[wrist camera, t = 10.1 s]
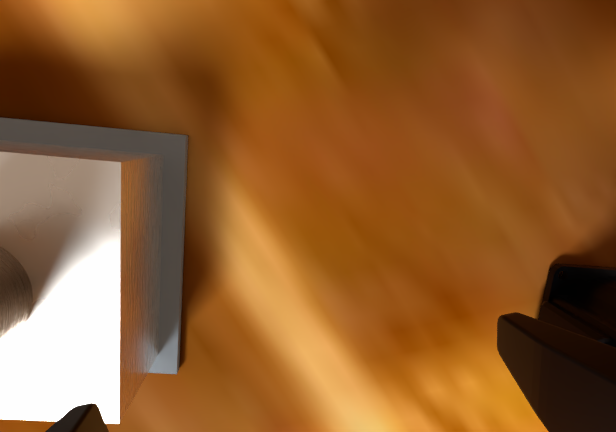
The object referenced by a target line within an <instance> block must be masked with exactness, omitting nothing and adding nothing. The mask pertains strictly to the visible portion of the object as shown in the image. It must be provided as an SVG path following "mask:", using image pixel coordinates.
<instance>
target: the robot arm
mask: <svg viewBox="0 0 616 432" xmlns="http://www.w3.org/2000/svg"><path fill="white" fill-rule="evenodd" d="M561 271H563V274H562V276H560V277H558V275H559V273H560V272H561ZM497 348H498V352H499V354H500V356H501V358H502V360H503V361H504V363H505V365H506V366H507V368H508V369H509V371H510V373H511V374H512V376H513V378H514V379H515V381H516V382H517V384H518V386H519V387H520V389H521V391H522V392H523V394H524V396H525V397H526V399H527V400H528V402H529V404H530V405H531V407H532V408H533V410H534V412H535V413H536V415H537V416H538V418H539V419H540V420H541V422H542V423H543V424H544V426H545V427H546V428H547V430H548V431H549V432H616V268H609V267H596V266H582V265H569V264H556V265H554V266H553V267H552V268H551V269H550V271H549V274H548V279H547V283H546V288H545V293H544V297H543V302H542V305H541V308H540V313H539V318H538V320H537V319H534V318H532V317H529V316H526V315H523V314H520V313H516V312H515V313H510V314H505V315H501V316H500V317H499V318H498V322H497ZM46 432H108V429H107V426H106V424H105V421H104V419H103V416H102V414H101V412H100V409H99V407H98V405H97V404H96V403H87V404H82V405H78V406H75V407H73V408H72V409H70V410H69V411H68V412H67V413H66V414H65V415H64V416H63V417H61V418H60V419H59V420H58V421H57V422H56V423H55V424H54V425H52V426H51V427H50V428H49V429H48V430H47V431H46Z"/></svg>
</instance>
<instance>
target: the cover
mask: <svg viewBox="0 0 616 432" xmlns="http://www.w3.org/2000/svg"><path fill="white" fill-rule="evenodd" d="M163 158H164V155H159V154H148V153H137V152H126V151H115V150H104V149H93V148H82V147H71V146H60V145H49V144H38V143H27V142H16V141H4V140H0V419H16V420H41V421H58V420H59V419H60V418H61V417H63V416H64V415H65V414H66V413H67V412H68V411H69V410H70V409H72V408H73V407H75V406H78V405H82V404H87V403H96V404H97V405H98V407H99V409H100V412H101V414H102V416H103V419H104V421H105V423H115V424H119V423H120V421H121V420H122V418H123V416H124V414H125V412H126V411H127V409H128V407H129V405H130V404H131V402H132V400H133V398H134V397H135V395H136V393H137V391H138V390H139V388H140V386H141V384H142V382H143V381H144V379H145V377H146V375H147V374H148V372H149V370H150V368H151V367H152V365H153V363H154V361H155V359H156V358H157V356H158V344H159V307H160V269H161V232H162V195H163Z"/></svg>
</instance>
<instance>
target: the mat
mask: <svg viewBox="0 0 616 432" xmlns="http://www.w3.org/2000/svg"><path fill="white" fill-rule="evenodd" d="M0 140H4V141H16V142H27V143H38V144H49V145H60V146H71V147H82V148H93V149H104V150H115V151H126V152H137V153H148V154H159V155H164V158H163V195H162V232H161V269H160V307H159V344H158V356H157V358H156V359H155V361H154V363H153V365H152V367H151V368H150V370H149V372H148V373H166V374H177V372H178V370H179V361H180V335H181V309H182V283H183V257H184V231H185V205H186V179H187V152H188V135H180V134H170V133H159V132H149V131H138V130H128V129H117V128H107V127H96V126H86V125H75V124H65V123H54V122H44V121H33V120H23V119H12V118H2V117H0Z"/></svg>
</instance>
